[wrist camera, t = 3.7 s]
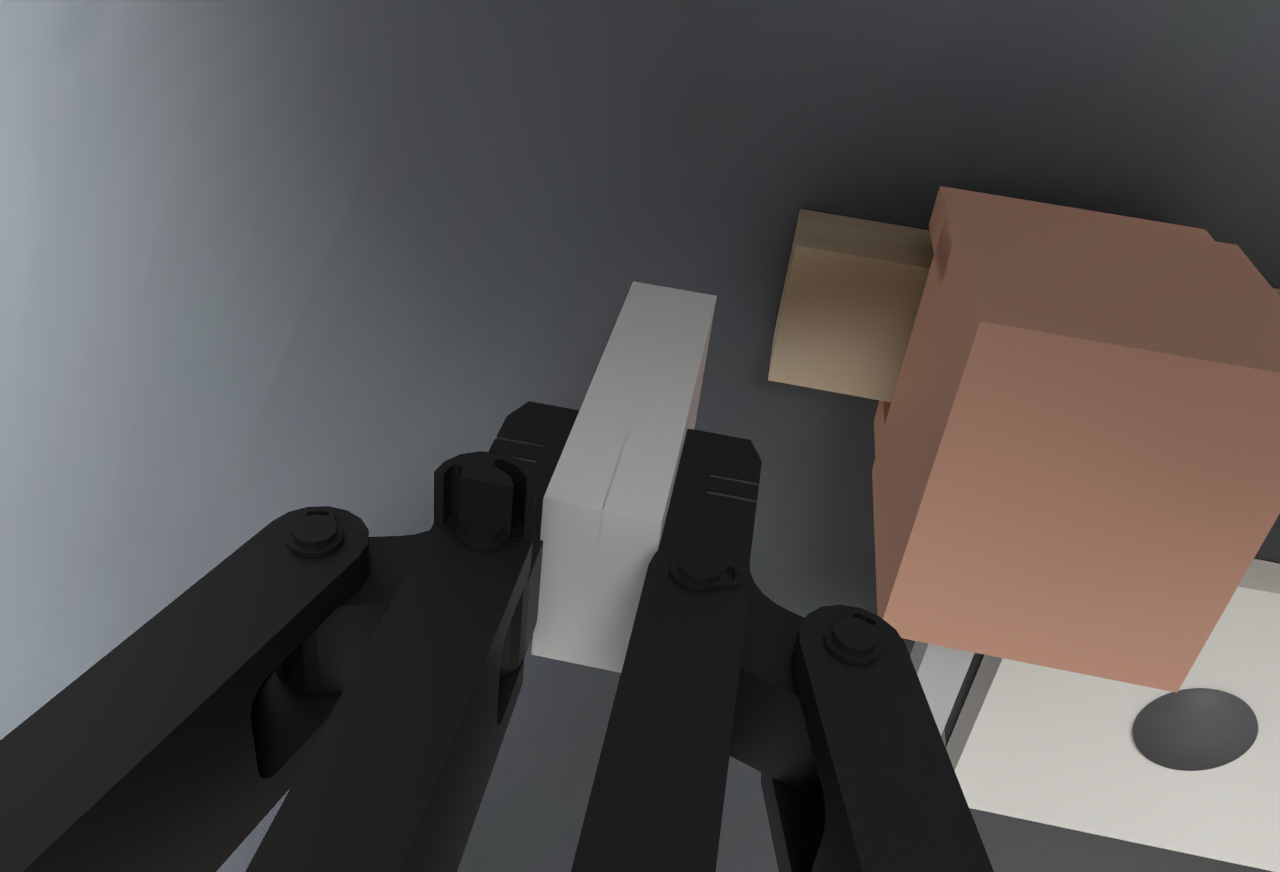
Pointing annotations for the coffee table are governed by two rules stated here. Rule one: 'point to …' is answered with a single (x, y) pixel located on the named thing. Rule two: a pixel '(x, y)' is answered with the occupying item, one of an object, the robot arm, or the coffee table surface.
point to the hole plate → (1141, 743)
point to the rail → (849, 304)
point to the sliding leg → (1074, 444)
